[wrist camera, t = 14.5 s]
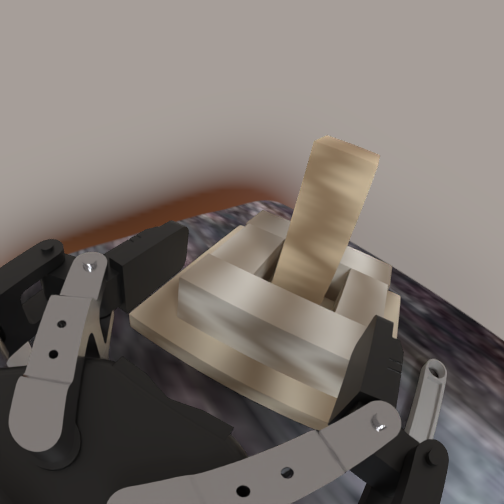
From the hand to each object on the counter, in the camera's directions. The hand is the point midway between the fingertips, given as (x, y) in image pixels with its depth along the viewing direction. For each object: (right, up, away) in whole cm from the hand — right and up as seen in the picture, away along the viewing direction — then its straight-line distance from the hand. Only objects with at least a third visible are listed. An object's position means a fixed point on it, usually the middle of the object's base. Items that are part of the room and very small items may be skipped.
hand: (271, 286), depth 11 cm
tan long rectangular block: (+3, -3, +14) cm, 15 cm away
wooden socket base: (+2, -5, +15) cm, 16 cm away
